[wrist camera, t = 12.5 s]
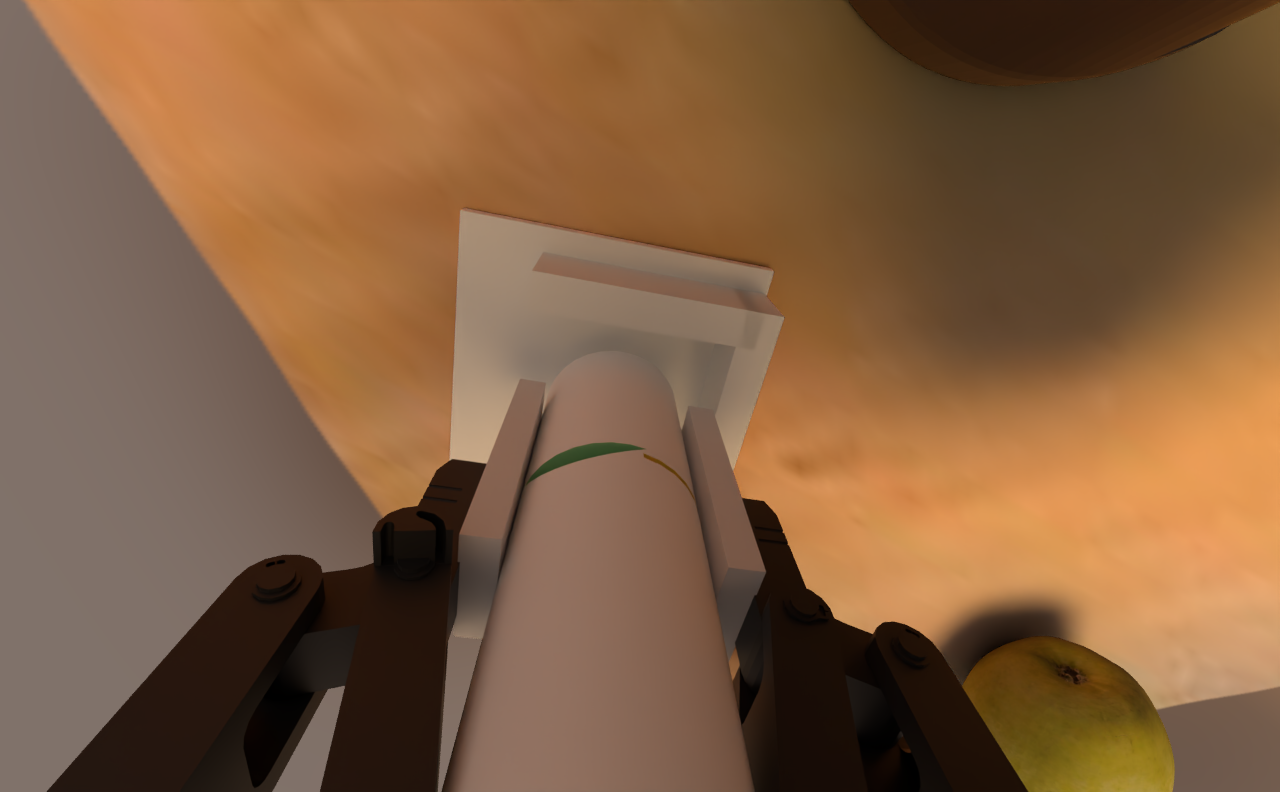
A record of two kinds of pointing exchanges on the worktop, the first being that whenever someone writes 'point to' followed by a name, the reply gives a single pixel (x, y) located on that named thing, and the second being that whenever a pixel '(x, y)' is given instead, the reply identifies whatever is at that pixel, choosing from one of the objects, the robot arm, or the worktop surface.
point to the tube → (604, 610)
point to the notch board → (601, 321)
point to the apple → (1070, 719)
